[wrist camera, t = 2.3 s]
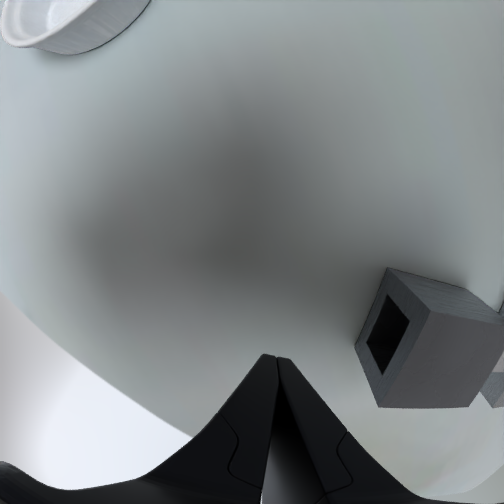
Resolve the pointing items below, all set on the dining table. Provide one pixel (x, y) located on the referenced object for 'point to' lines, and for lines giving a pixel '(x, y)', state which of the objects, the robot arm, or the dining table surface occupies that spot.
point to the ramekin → (66, 23)
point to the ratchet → (495, 381)
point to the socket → (428, 343)
